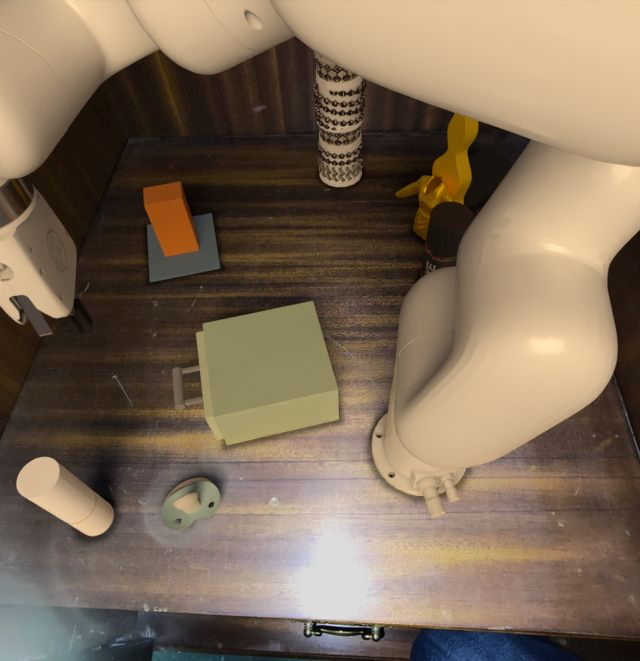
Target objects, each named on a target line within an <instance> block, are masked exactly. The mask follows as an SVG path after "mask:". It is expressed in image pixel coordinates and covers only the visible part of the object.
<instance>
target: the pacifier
mask: <svg viewBox="0 0 640 661" xmlns="http://www.w3.org/2000/svg"><path fill="white" fill-rule="evenodd" d="M212 502H213V506H212V507H210V506H209V505H210V503H212ZM220 504H221V493H220V490H219V488H218V487H217V486H216V485H215V484H214V483H213V482H212V480H210V479H208V478H205V477H192V478H189V479H186V480H184V481H182V482H181V483H179V484H177V485H176V486H174V488H172V489H171V490H170V492H169V493H167V496H166V498H165V500H164V503H163V505H162V508H161V510H160V519H161V521H162V523H163V524H164V526H166V527H167V528H168V529H170V530H173V531H182V530H185V529H187V528H189V527H190V526H191V525H193V524H194V523H195V521H196V520H198V519H207V518H210V517H211V516H212V515H214V514H215V513H216V512H217V511H218V509H219V507H220ZM179 519H180V520H181V522H180V523H175V522H176V520H179Z"/></svg>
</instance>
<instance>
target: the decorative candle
mask: <svg viewBox="0 0 640 661" xmlns="http://www.w3.org/2000/svg"><path fill="white" fill-rule="evenodd" d="M313 57H314V58H315V63H316V68H315V78H314V80H313V84H312V90H313V93H312V96H313V97H314V98H313V102H314V108H315V110H314V115H315V122H316V124H317V125H318V127H319V132H318V138H319V139H318V140H317V152H318V153H317V160H318V161H317V164H318V172H319V178H320V180H321V181H322V182H323V183H324V184H325V185H327V186H330V187H334V188H346V187H349V186H352V185H355V184H356V183H357V182H360V179H361V178H362V176H363V171H362V169H363V167H364V166H363V165H362V163H363V161H364V159H363V158H362V157H363V154H364V151H363V147H364V142H363V141H364V140H363V138H362V137H363V136H362V135H363V134H362V124H363V122H364V121H365V120H364V118H365V113H364V110H365V108H366V103H365V102H366V101H365V99H366V97H367V95H366V92H365V90H366V88H367V87H368V83H367V80H366V79H364V78H361V77H359V76H357V75H355V74H353V73H351V72H350V71H348V70H346V69H344V68H342V67H340V66H338V65H336V64H334V63H332V62H330V61H328V60H327V59H325V58H323V57H321V56H320V55H319V54H317V53H316V52H315V51H313Z"/></svg>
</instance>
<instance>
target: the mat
mask: <svg viewBox="0 0 640 661" xmlns="http://www.w3.org/2000/svg"><path fill="white" fill-rule="evenodd" d="M192 218H193V221H194V225H195V228H196V231H197V234H198V242H199V251H194V252H188V253H183V254H178V255H173V256H168V257H165V255H164V252H163V250H162V248H161V245H160V243H159V240H158V238H157V236H156V233H155V231H154V228H153V226H152V224H150V223H149V224H147V225H146V231H147V232H146V234H147V254H148V274H149V276H148V277H149V283H155V282H159V281H165V280H170V279H174V278H181V277H184V276H190V275H195V274H200V273H205V272H211V271H215V270H221V261H220V255H219V249H218V242H217V237H216V231H215V230H216V229H215V224H214V217H213V213H212V212H209V213H205V214H197V215H193V216H192Z"/></svg>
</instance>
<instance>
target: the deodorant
mask: <svg viewBox="0 0 640 661" xmlns="http://www.w3.org/2000/svg"><path fill="white" fill-rule="evenodd" d="M474 219H475V216H474V213H473V210H471V209H469V208H468V207H467V206H465V205H464V204H461V203H458V202H453V201H447V202H442V203H439V204H437V205H436V206H434V207H433V209H432V210H431V213H430V219H429V225H428V230H427V236H426V240H425V243H424V248H423V254H422V260H421V266H420V272H419V278H418V280H419V279H421V278H422V277H423V276H425V275H426V274H428V273H430V272H432V271H435V270H437V269H441V268H445V267H456V260H457V253H458V248H459V245H460V242H461V240H462V238H463V236H464V234H465V232H466V230H467V229H468V227H469V226H470V224H471V223H472V222H473V220H474Z"/></svg>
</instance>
